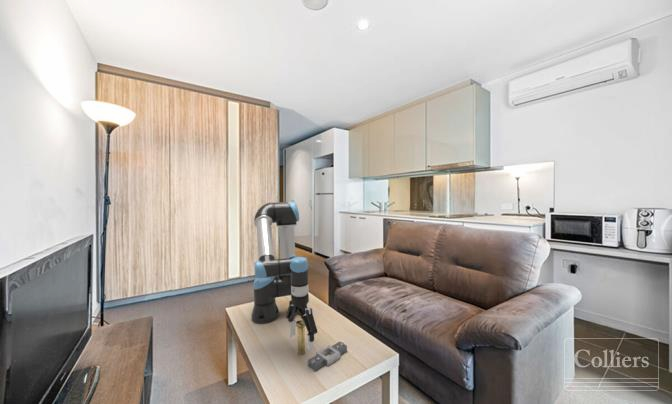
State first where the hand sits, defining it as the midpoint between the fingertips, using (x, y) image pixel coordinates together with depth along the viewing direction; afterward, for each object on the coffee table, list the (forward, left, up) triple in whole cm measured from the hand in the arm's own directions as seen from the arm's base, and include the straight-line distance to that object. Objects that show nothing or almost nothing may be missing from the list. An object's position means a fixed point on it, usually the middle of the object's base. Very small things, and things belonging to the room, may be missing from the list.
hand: (301, 341), depth 112 cm
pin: (0, 0, -5) cm, 5 cm away
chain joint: (+11, +6, -5) cm, 13 cm away
